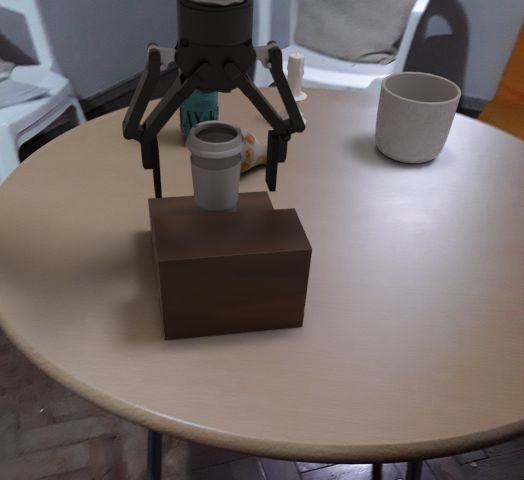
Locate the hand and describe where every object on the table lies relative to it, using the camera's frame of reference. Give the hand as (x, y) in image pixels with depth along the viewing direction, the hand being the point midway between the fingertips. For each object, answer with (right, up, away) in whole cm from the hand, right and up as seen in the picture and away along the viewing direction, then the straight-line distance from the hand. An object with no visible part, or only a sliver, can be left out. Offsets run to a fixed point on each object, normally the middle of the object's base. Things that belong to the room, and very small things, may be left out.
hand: (215, 189), depth 75 cm
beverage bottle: (-5, +16, +30) cm, 34 cm away
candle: (+11, +21, +37) cm, 44 cm away
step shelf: (0, -10, +4) cm, 11 cm away
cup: (0, -4, +3) cm, 5 cm away
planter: (+30, +14, +30) cm, 45 cm away
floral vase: (+3, +10, +24) cm, 26 cm away
